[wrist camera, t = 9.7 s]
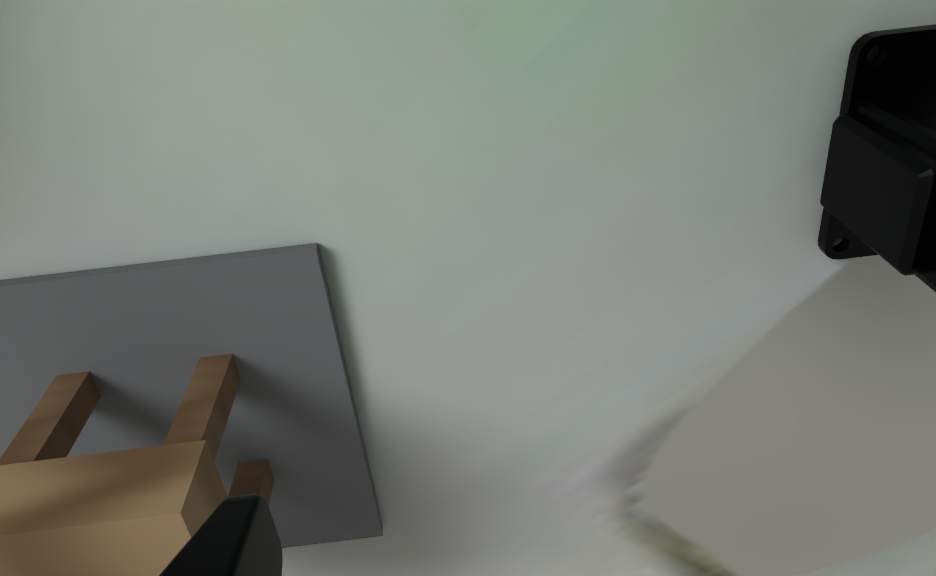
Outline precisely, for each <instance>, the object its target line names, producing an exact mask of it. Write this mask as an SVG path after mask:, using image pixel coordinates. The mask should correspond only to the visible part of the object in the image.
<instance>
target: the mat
mask: <svg viewBox="0 0 936 576" xmlns="http://www.w3.org/2000/svg"><path fill="white" fill-rule="evenodd" d="M226 354H233V357H234V360H235V363H236V366H237V369H238V372H239V375H240V378H241V381H240V384H239V387H238V390H237V393H236V396H235V399H234V402H233V405H232V408H231V411H230V414H229V417H228V421H227V424H226V427H225V430H224V433H223V436H222V439H221V442H220V445H219V448H218V451H217V454H216V458H215V461H214V462H215V465H216V467H217V470H218V472H219V475H220V478H221V480H222V483H223V485H224V488H225V490H226V493H227V496H228V495H229V492H230V488H231V485H232V481H233V478H234V474H235V471H236V467H237V464H238V462H245V461H253V460H261V459H268V462H269V465H270V468H271V471H272V474H273V477H274V485H273V489H272V494H271V498H270V503H269V508H270V511H271V514H272V517H273V520H274V523H275V526H276V529H277V532H278V535H279V538H280V541H281V546H282V548H284V547H293V546H301V545H309V544H318V543H326V542H334V541H343V540H351V539H359V538H368V537H376V536H382V533H383V526H382V522H381V517H380V513H379V509H378V504H377V500H376V496H375V491H374V487H373V482H372V478H371V474H370V469H369V465H368V461H367V456H366V452H365V448H364V443H363V439H362V435H361V430H360V426H359V422H358V417H357V413H356V409H355V404H354V400H353V395H352V391H351V387H350V382H349V378H348V374H347V369H346V365H345V361H344V356H343V352H342V348H341V343H340V339H339V335H338V330H337V326H336V322H335V317H334V313H333V309H332V304H331V300H330V295H329V291H328V287H327V282H326V278H325V274H324V269H323V265H322V261H321V256H320V252H319V248H318V243H314V244H306V245H297V246H289V247H280V248H272V249H263V250H255V251H246V252H237V253H229V254H220V255H212V256H203V257H195V258H186V259H178V260H169V261H161V262H152V263H144V264H135V265H126V266H118V267H109V268H101V269H92V270H84V271H75V272H67V273H58V274H50V275H41V276H33V277H24V278H15V279H7V280H0V458H1V456H2V455H3V453H4V452H5V451H6V449H7V448H8V446H9V445H10V443H11V442H12V440H13V439H14V437H15V436H16V434H17V433H18V431H19V430H20V429H21V427H22V426H23V424H24V423H25V421H26V420H27V418H28V417H29V415H30V414H31V412H32V411H33V409H34V408H35V406H36V405H37V404H38V402H39V401H40V399H41V398H42V396H43V395H44V393H45V392H46V390H47V389H48V387H49V386H50V384H51V383H52V381H53V380H54V379H55V377H56V376H57V375H64V374H72V373H80V372H88V371H89V372H90V374H91V376H92V378H93V381H94V383H95V385H96V387H97V389H98V391H99V393H100V396H101V398H100V399H99V401H98V403H97V405H96V406H95V408H94V410H93V412H92V413H91V415H90V417H89V419H88V420H87V422H86V424H85V426H84V427H83V429H82V431H81V433H80V434H79V436H78V438H77V440H76V441H75V443H74V445H73V447H72V448H71V450H70V452H69V454H68V455H67V457H72V456H80V455H88V454H96V453H105V452H113V451H121V450H129V449H137V448H145V447H153V446H161V445H163V444H164V442H165V439H166V437H167V435H168V432H169V430H170V427H171V425H172V423H173V420H174V418H175V415H176V413H177V411H178V408H179V406H180V404H181V401H182V399H183V396H184V394H185V392H186V389H187V387H188V385H189V382H190V380H191V377H192V375H193V373H194V370H195V368H196V365H197V363H198V361H199V358H202V357H210V356H218V355H226Z"/></svg>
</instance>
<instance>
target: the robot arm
mask: <svg viewBox="0 0 936 576" xmlns="http://www.w3.org/2000/svg"><path fill="white" fill-rule="evenodd" d="M877 45H878V49H879V51H878V53H877V55H876V56H875V57H874V58H873V59H872V60H870V61H867V55H868V53H869V51H870V50H871V49H872V48H873V47H875V46H877ZM820 203H821V205H822V206H823V207H824V208H823V214H822V220H821V225H820V231H819V237H818V246H819V248H820V249H821V251H822V252H823V253H824V254H825V255H826V256H827V257H829V258H831V259H846V258H855V257H863V256H871V255H880V256H881V257H882V258H883V259H885V260H886V261H887V262H888V263H889V264H890V265H892V266H893V267H894V268H895V269H896V270H897V271H899V272H900V273H901V274H903V275H913V274H914V275H916V276H917V277H918V278H919V279H920V280H922V281H923V282H924V283H925V284H926V285H928V286H929V287H930V288H931V289H932V290H934V291H935V292H936V25H927V26H918V27H910V28H901V29H893V30H884V31H875V32H870V33H867V34H864V35H863V36H862V37H860V38H859V39H858V40H857V41H856V42H855V44H854V45H853V46H852V49H851V52H850V55H849V61H848V67H847V73H846V79H845V85H844V91H843V97H842V102H841V108H840V114H839V116H838V117H837V119H836V120H835V122H834V123H833V128H832V134H831V140H830V146H829V152H828V158H827V164H826V170H825V176H824V182H823V188H822V194H821V200H820ZM841 237H843V239H842V241H841V242H840V243H839V244H838V245H835V246H833V243H834V242H835V241H836V240H837V239H838V238H841ZM159 576H282V546H281V541H280V538H279V535H278V532H277V529H276V526H275V523H274V520H273V517H272V514H271V511H270V508H269V505H268V503H267V500H266V499H265V497H264V496H263V495H262V494H258V493H254V494H246V495H238V496H230V497H228V498H226V499H225V500H223V501H222V502H221V503H220V504H219V505H218V507H217V508H216V509H215V510H214V511H213V512H212V514H211V515H210V516H209V517H208V518H207V519H206V521H205V522H204V523H203V524H202V525H201V527H200V528H199V529H198V530H197V531H196V532H195V534H194V535H193V536H192V537H191V538H190V539H189V541H188V542H187V543H186V544H185V545H184V547H183V548H182V549H181V550H180V551H179V552H178V554H177V555H176V556H175V557H174V558H173V559H172V561H171V562H170V563H169V564H168V565H167V567H166V568H165V569H164V570H163V571H162V572H161V574H160V575H159Z"/></svg>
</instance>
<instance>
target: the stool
mask: <svg viewBox="0 0 936 576" xmlns="http://www.w3.org/2000/svg"><path fill="white" fill-rule="evenodd" d="M240 381H241V378H240V375H239V372H238V369H237V366H236V363H235V360H234V357H233V354H226V355H218V356H210V357H202V358H199V361H198V363H197V365H196V368H195V370H194V373H193V375H192V377H191V380H190V382H189V385H188V387H187V389H186V392H185V394H184V396H183V399H182V401H181V404H180V406H179V408H178V411H177V413H176V415H175V418H174V420H173V423H172V425H171V427H170V430H169V432H168V435H167V437H166V439H165V442H164V444H163V445H161V446H153V447H145V448H137V449H129V450H121V451H113V452H105V453H96V454H88V455H80V456H72V457H67V455H68V454H69V452H70V450H71V448H72V447H73V445H74V443H75V441H76V440H77V438H78V436H79V434H80V433H81V431H82V429H83V427H84V426H85V424H86V422H87V420H88V419H89V417H90V415H91V413H92V412H93V410H94V408H95V406H96V405H97V403H98V401H99V399H100V398H101V396H100V393H99V391H98V389H97V387H96V385H95V383H94V381H93V378H92V376H91V374H90V372H89V371H88V372H80V373H72V374H64V375H57V376H56V377H55V379H54V380H53V381H52V383H51V384H50V386H49V387H48V389H47V390H46V392H45V393H44V395H43V396H42V398H41V399H40V401H39V402H38V404H37V405H36V406H35V408H34V409H33V411H32V412H31V414H30V415H29V417H28V418H27V420H26V421H25V423H24V424H23V426H22V427H21V429H20V430H19V431H18V433H17V434H16V436H15V437H14V439H13V440H12V442H11V443H10V445H9V446H8V448H7V449H6V451H5V452H4V453H3V455H2V456H1V458H0V576H159V575H160V574H161V572H162V571H163V570H164V569H165V568H166V567H167V565H168V564H169V563H170V562H171V561H172V559H173V558H174V557H175V556H176V555H177V554H178V552H179V551H180V550H181V549H182V548H183V547H184V545H185V544H186V543H187V542H188V541H189V539H190V538H191V537H192V536H193V535H194V534H195V532H196V531H197V530H198V529H199V528H200V527H201V525H202V524H203V523H204V522H205V521H206V519H207V518H208V517H209V516H210V515H211V514H212V512H213V511H214V510H215V509H216V508H217V507H218V505H219V504H220V503H221V502H222V501H223V500H225V499H226V498H228V497H230V496H238V495H246V494H254V493H258V494H262V495H263V496H264V497H265V499H266V500H267V503H268V505H269V503H270V498H271V494H272V489H273V485H274V477H273V474H272V471H271V468H270V465H269V462H268V459H261V460H253V461H245V462H238V464H237V467H236V471H235V474H234V478H233V481H232V485H231V488H230V492H229V495H228V496H227V493H226V490H225V488H224V485H223V483H222V480H221V478H220V475H219V472H218V470H217V467H216V465H215V462H214V461H215V458H216V454H217V451H218V448H219V445H220V442H221V439H222V436H223V433H224V430H225V427H226V424H227V421H228V417H229V414H230V411H231V408H232V405H233V402H234V399H235V396H236V393H237V390H238V387H239V384H240Z"/></svg>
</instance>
